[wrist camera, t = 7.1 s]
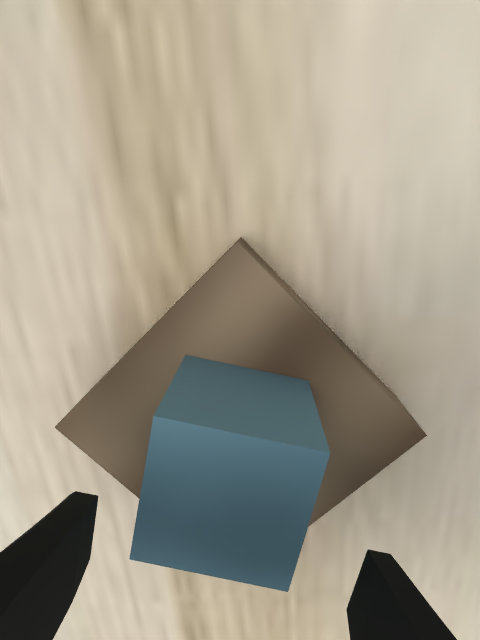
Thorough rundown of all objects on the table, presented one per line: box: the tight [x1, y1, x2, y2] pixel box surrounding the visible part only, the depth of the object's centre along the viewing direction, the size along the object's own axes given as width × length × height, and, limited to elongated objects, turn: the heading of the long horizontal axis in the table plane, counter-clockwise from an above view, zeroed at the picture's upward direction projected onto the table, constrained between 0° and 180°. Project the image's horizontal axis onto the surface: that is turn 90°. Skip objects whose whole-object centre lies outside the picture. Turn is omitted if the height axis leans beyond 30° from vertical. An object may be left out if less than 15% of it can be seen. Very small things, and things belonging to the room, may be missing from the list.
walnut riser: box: [55, 238, 427, 526], centre depth 18 cm, size 11×11×4 cm
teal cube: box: [130, 355, 330, 592], centre depth 14 cm, size 5×5×5 cm
